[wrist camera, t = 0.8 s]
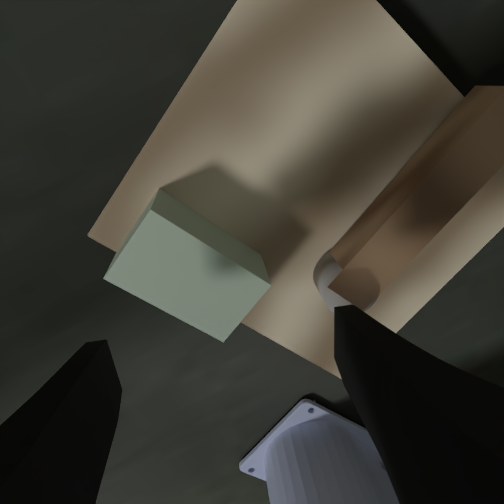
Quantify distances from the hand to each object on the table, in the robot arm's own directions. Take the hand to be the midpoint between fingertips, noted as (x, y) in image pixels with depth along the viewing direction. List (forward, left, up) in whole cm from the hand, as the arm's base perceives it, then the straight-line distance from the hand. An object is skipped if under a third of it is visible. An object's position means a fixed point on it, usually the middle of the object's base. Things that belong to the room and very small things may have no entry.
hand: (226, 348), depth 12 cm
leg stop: (+1, +1, -8) cm, 8 cm away
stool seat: (-3, -5, -10) cm, 11 cm away
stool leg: (-6, -7, -7) cm, 12 cm away
